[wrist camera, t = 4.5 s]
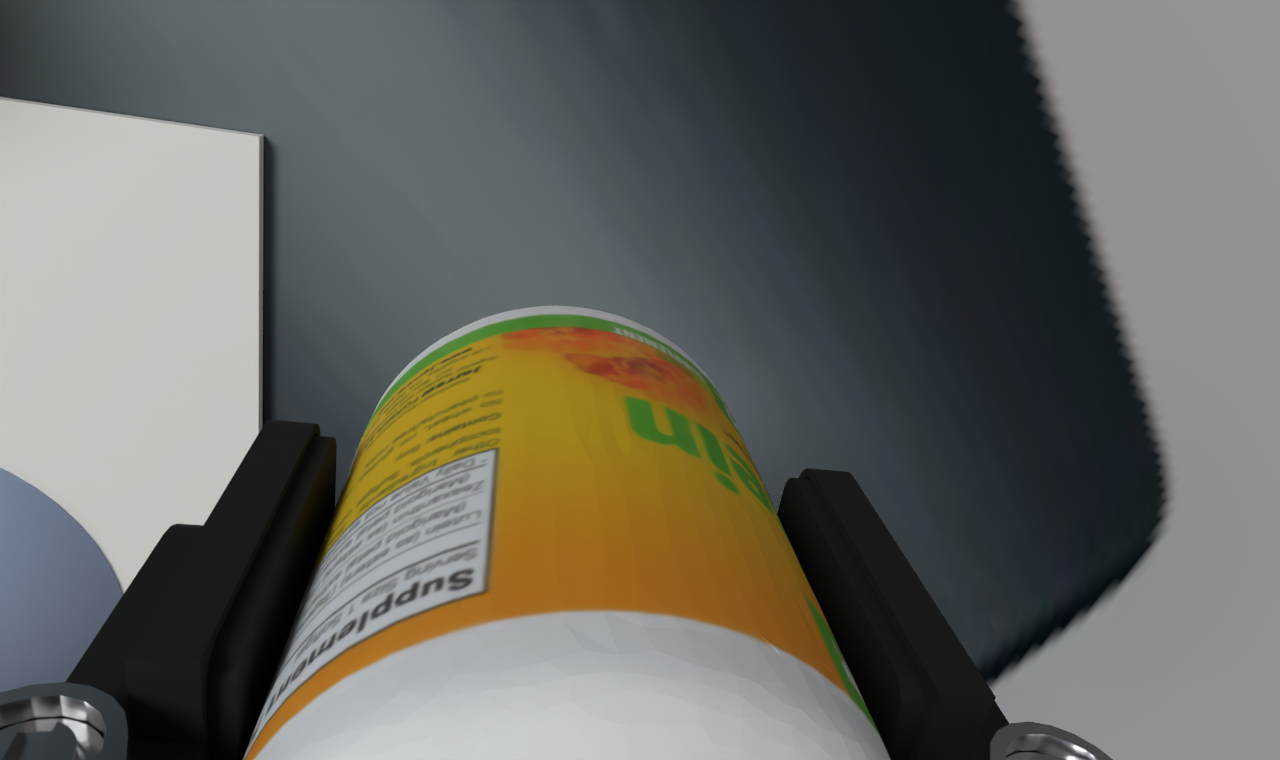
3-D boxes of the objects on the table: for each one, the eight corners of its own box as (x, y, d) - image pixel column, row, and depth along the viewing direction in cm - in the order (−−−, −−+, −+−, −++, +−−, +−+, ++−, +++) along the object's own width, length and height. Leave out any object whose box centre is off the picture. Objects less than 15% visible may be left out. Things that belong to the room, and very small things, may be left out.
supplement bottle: (804, 486, 13) (1341, 1477, 4) (532, 675, 14) (536, 1803, 5) (581, 212, 11) (776, 1077, 2) (277, 455, 12) (-395, 1731, 3)
